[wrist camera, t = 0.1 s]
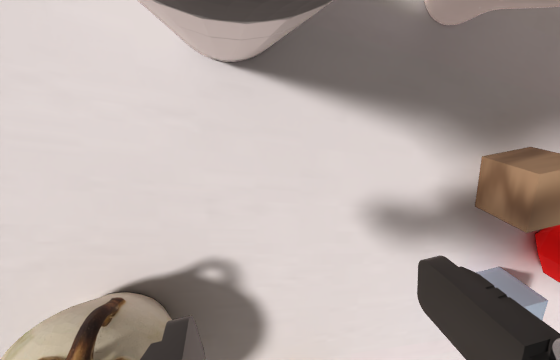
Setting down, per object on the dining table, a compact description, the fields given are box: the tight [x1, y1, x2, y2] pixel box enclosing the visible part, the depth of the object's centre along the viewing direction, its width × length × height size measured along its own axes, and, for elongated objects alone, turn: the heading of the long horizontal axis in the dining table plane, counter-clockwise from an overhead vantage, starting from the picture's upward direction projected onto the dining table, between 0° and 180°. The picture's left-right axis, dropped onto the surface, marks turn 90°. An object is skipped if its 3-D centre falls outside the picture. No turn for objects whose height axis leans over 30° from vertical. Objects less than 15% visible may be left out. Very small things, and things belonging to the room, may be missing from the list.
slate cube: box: [477, 267, 548, 320], centre depth 34 cm, size 6×6×6 cm
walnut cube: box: [475, 147, 560, 233], centre depth 28 cm, size 6×6×6 cm
